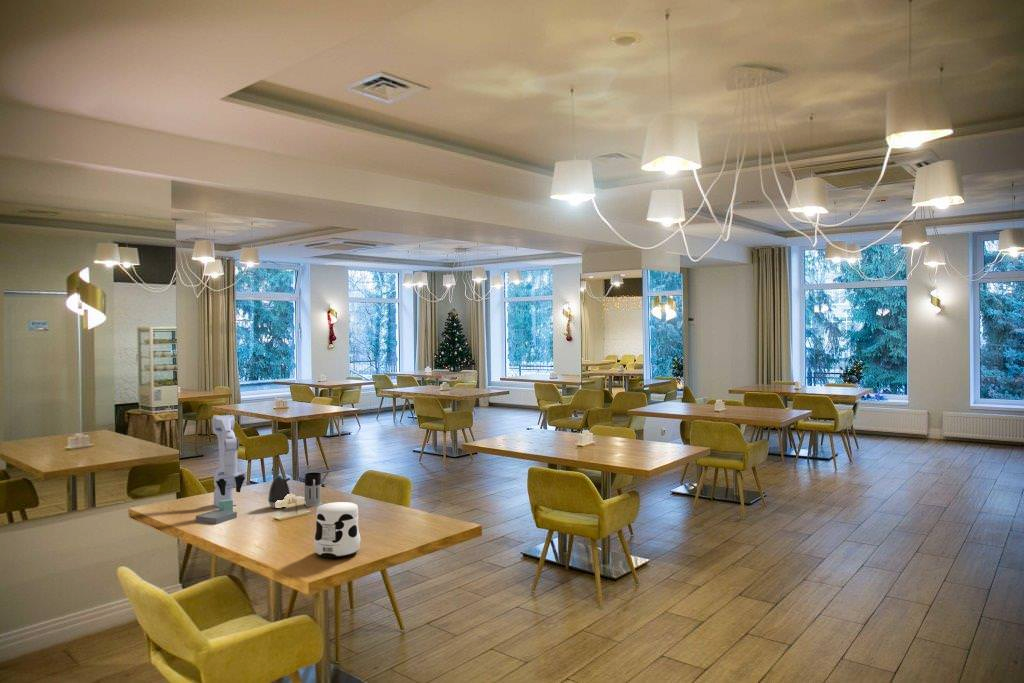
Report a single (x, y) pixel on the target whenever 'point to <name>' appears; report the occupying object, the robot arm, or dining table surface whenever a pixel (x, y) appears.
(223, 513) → the slate base
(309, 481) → the glass holder
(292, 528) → the dining table surface
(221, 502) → the teal block
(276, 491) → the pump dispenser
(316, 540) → the milk container
